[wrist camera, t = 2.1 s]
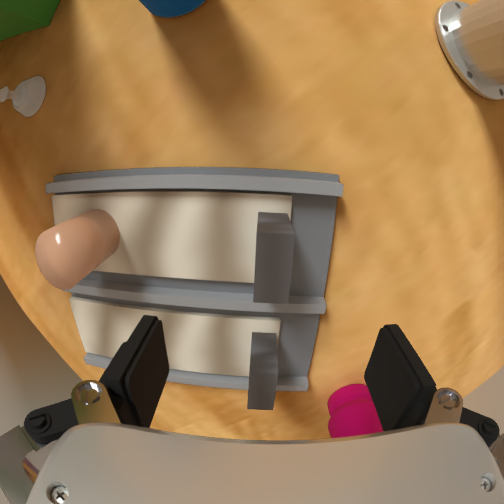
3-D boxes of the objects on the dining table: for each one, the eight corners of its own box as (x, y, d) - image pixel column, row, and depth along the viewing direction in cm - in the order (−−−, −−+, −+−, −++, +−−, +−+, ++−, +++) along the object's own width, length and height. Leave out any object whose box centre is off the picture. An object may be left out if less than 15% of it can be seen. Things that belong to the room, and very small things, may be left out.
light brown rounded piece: (117, 208, 24) (73, 230, 17) (122, 259, 25) (85, 293, 19) (76, 209, 24) (30, 229, 17) (82, 256, 25) (42, 286, 19)
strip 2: (280, 317, 27) (283, 362, 21) (273, 374, 30) (274, 418, 24) (71, 296, 28) (40, 326, 22) (87, 349, 31) (64, 381, 25)
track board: (336, 174, 23) (344, 176, 21) (304, 380, 32) (306, 394, 29) (58, 174, 24) (44, 177, 22) (94, 356, 32) (87, 366, 30)
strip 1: (291, 194, 23) (301, 211, 17) (284, 281, 26) (289, 321, 20) (54, 194, 24) (12, 209, 18) (64, 265, 27) (29, 291, 20)
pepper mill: (365, 372, 31) (409, 512, 12) (380, 398, 33) (418, 516, 14) (315, 396, 33) (333, 536, 14) (335, 419, 35) (356, 538, 16)
